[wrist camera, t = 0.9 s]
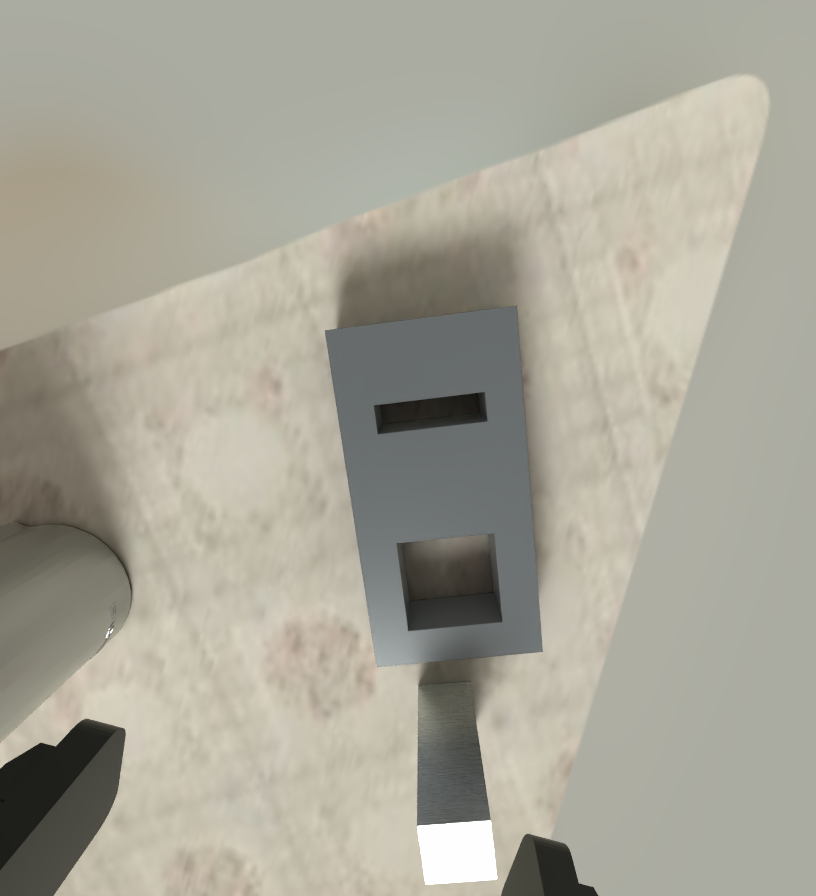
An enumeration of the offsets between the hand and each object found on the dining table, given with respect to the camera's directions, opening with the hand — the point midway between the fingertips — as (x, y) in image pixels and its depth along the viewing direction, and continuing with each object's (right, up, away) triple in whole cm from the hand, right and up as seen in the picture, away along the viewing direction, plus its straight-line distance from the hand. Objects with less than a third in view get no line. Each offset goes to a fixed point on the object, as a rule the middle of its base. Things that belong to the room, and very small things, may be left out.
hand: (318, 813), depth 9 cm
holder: (+4, +5, +21) cm, 22 cm away
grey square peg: (+4, -11, +24) cm, 27 cm away
